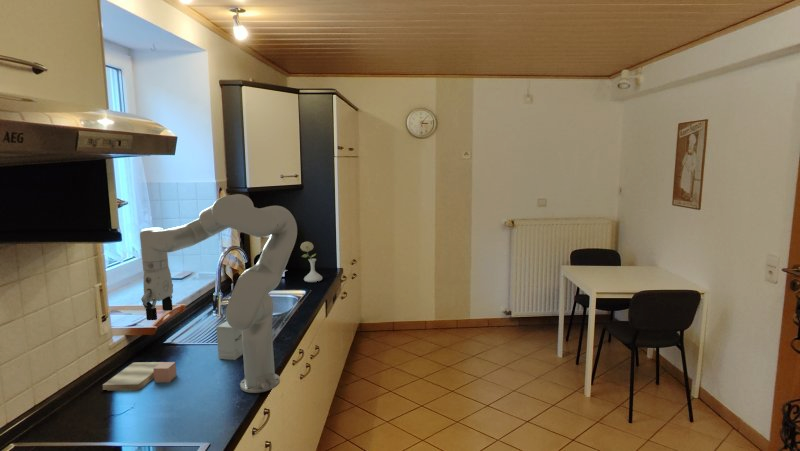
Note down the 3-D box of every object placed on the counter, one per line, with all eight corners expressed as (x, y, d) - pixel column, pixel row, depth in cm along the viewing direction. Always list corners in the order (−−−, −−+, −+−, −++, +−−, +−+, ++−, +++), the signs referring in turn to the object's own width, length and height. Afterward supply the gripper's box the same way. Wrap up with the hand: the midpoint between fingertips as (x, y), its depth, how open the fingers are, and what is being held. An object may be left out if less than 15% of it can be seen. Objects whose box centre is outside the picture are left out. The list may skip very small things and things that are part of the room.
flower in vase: (325, 279, 292) (323, 239, 289) (319, 283, 281) (317, 242, 278) (305, 278, 294) (302, 239, 291) (298, 283, 283) (296, 243, 280)
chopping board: (133, 367, 169) (133, 362, 169) (166, 367, 169) (165, 362, 169) (103, 390, 152) (102, 384, 152) (139, 390, 152) (138, 384, 152)
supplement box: (235, 360, 174) (233, 327, 172) (217, 359, 175) (215, 326, 173) (246, 352, 181) (243, 321, 179) (228, 351, 182) (226, 320, 181)
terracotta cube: (169, 382, 157) (168, 368, 157) (154, 382, 157) (153, 368, 157) (176, 375, 162) (175, 362, 162) (162, 375, 162) (161, 362, 162)
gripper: (152, 271, 146) (157, 323, 148) (179, 259, 163) (183, 306, 165) (128, 271, 146) (133, 324, 148) (158, 259, 163) (162, 307, 166)
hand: (160, 314), depth 157 cm, fingers open, 9 cm apart
